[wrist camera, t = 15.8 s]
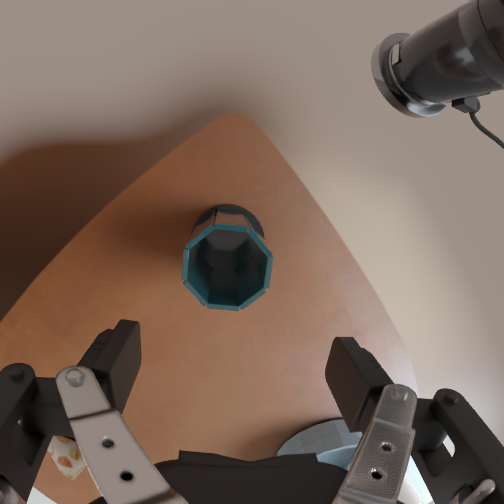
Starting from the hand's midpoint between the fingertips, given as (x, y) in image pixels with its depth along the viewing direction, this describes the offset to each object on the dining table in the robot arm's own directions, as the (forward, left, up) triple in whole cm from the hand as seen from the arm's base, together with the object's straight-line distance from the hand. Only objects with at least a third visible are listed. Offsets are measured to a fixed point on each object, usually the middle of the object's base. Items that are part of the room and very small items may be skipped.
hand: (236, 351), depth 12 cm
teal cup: (0, 0, -19) cm, 19 cm away
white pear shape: (+24, +36, -20) cm, 47 cm away
